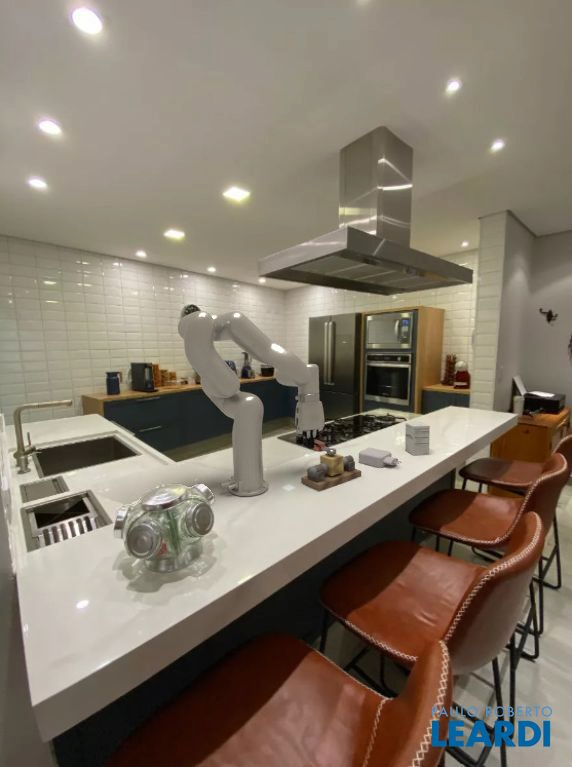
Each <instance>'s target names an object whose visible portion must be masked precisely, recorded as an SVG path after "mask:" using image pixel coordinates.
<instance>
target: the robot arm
mask: <svg viewBox="0 0 572 767" xmlns="http://www.w3.org/2000/svg"><path fill="white" fill-rule="evenodd" d="M177 333H178V335H179V336H180V337H181V338H182V339H183V344H184V345H183V347H184V352H185V357H186V359H187V361H188V363H189V364H190V365H191V367H192V369H193V370H194V371H195V372H196V374H197V375H198V376H199V377H200V386H201V389H202V391H203V392H204V394H205V395H206V396H207V397H208V398H209V399H210V401H211V402H212V403H214V405H215V406H216V407H217V408H218V409H219V410H220V411H221V412H222V413H223V414H224V415H225V416H227V417H228V418H231V419H232V420H233V425H232V433H231V434H232V435H231V440H232V442H231V443H232V463H233V464H232V465H233V466H232V467H233V475H231V476H230V479H229V480H228V481H224V482H220V483H219V488H220V490H224V489H227V491H229V492H230V493H231V494H233V495H235V496H238V497H254V496H258V495H260V494H264V493H265V492H266V491H267V490H268V489H269V482H267V481H266V480H264V463H263V462H264V461H263V460H264V459H263V438H262V437H263V433H262V432H263V431H262V430H263V429H262V428H263V427H262V426H263V420H264V419H263V418H264V410H265V409H264V404H263V402H262V400H261V399H260V397H258V395H256V394H254V393H251V392H246V391H241V390H240V388H241V380H240V379H239V377H238V375H237V374H236V373H235V371H234V370H233V369H232V368H231V367H230V365H228V364H227V362H226V361H225V360H224V359H223V358H222V356H221V355H220V354H219V352H218V351H217V349H216V347H215V344H214V342H220V341H221V342H222V341H232V342H233V343H234V344H236V345H237V347H239V348H240V349H241V350H242V351H244V352H245V353H246V354H247V355H248V356H249V357H251V358H252V359H253V360H255V361H257V362H258V363H261V364H265V365H268V366H270V367H273V368H275V369H276V370H275V373H274V376H275V377H274V378H275V379H276V381H277V383H279V384H281V385H282V386H287V387H297V390H298V392H297V395H295V400H296V401H297V400H298V402H297V403H296V407H295V417H294V419H295V420H294V421H295V423H294V424H295V425H294V426H295V428H296V430H295V432H296V434H299V435H302V436H303V437H304V438H305V439H304V441H305V442H304V443H305V448H307V449H309V450H313V449H312V448H314V445H315V440H316V439H315V438H316V436H317V434H318V432H321V431H323V429H324V427H325V413H324V407H323V402H322V401H320V380H319V379H320V375H319V373H320V370H319V365H317V364H315V363H305V362H304V361H303V360H302V359H301V358H300V357H299V356H297V355H296V353H294V352H292V351H291V350H289V349H288V348H285V347H284V346H282V344H279V343H278V342H276V341H274V340H272V339H271V338H270V337H269V336H268V335H266V334H265V332H263V331H262V329H260V328H259V327H258V326H257V325H255V324H254V323H253V321H252V320H251V319H249V318H248V317H247V316H246V314H244V313H242V312H240V311H234V310H233V311H230V312H226V313H224V314H215V315H214V314H213V315H211V313H209V312H207V311H204V310H197V311H194V312H191V313H189V314H187V315H185V316H183V317H181V319H180V320H179V321H178V323H177Z"/></svg>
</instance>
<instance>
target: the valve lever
mask: <svg viewBox="0 0 572 767" xmlns="http://www.w3.org/2000/svg"><path fill="white" fill-rule="evenodd" d="M311 450H314V451H316V452H319V453H321V452H326V454H337V449H336V448H331V447H328V446H326V443H325V442H323V441H321V440H318V439H315V445H314V448H312V449H311Z"/></svg>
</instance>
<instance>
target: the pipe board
mask: <svg viewBox="0 0 572 767" xmlns="http://www.w3.org/2000/svg"><path fill="white" fill-rule="evenodd" d="M306 472H307V473H306V475H304V476H302V477H301V478H300V480H301V481H300V483H301V484H302V483H303V485H304V484H305V485H304V486H306V485H307V486H306V487H309V488H311V489H312V490H315V491H317V492H321V491H325V490H328V489H331V488H333V487H336V486H338V485H342V484H344V483H347V482H349V481H352V480H355V479H358V478H360V477H362V470H360V469H358V468H356V461H355V458H354V456H352V455H347V456H344V455H340V454H337V453H336V454H327V453H325V454H321V455H319V464H315V465H312V466H309V467H308V468H307V470H306Z"/></svg>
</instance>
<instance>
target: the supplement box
mask: <svg viewBox="0 0 572 767" xmlns="http://www.w3.org/2000/svg"><path fill="white" fill-rule="evenodd" d="M430 427H431V426H430V425H429V424H426V423H423V422H421V421H415V422H413V421H412V422H406V423H405V442H404V443H405V446H404V448H405V452H408V453H409V454H411V455H412V456H413V457H414V456H428V455H430V433H431V432H430V431H431V430H430Z"/></svg>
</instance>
